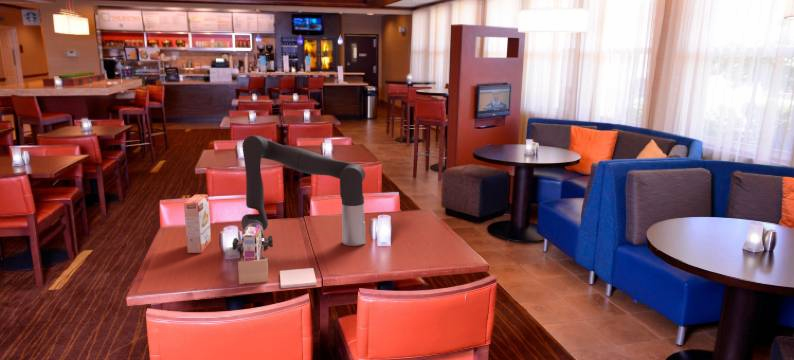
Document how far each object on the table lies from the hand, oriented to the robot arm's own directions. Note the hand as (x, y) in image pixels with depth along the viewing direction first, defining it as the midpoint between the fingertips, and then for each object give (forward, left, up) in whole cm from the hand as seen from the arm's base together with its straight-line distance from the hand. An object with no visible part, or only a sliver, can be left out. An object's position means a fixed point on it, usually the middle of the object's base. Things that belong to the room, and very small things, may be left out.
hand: (252, 249), depth 191 cm
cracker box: (+22, -32, -9) cm, 40 cm away
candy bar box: (0, +1, -9) cm, 9 cm away
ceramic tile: (-15, +9, -9) cm, 20 cm away
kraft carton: (0, -1, -9) cm, 9 cm away
